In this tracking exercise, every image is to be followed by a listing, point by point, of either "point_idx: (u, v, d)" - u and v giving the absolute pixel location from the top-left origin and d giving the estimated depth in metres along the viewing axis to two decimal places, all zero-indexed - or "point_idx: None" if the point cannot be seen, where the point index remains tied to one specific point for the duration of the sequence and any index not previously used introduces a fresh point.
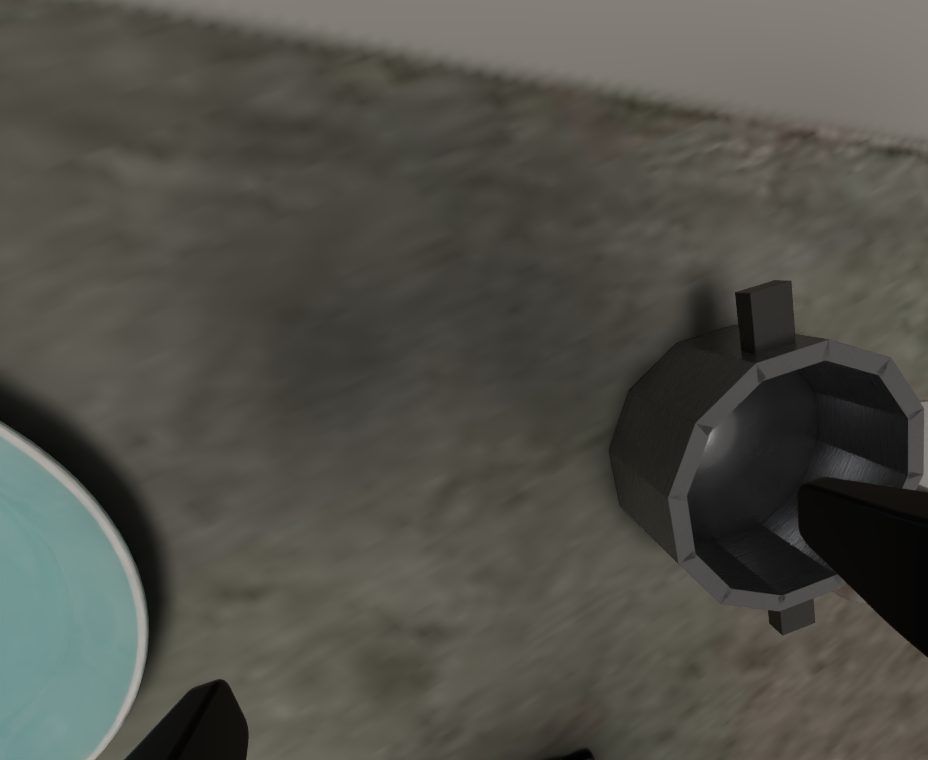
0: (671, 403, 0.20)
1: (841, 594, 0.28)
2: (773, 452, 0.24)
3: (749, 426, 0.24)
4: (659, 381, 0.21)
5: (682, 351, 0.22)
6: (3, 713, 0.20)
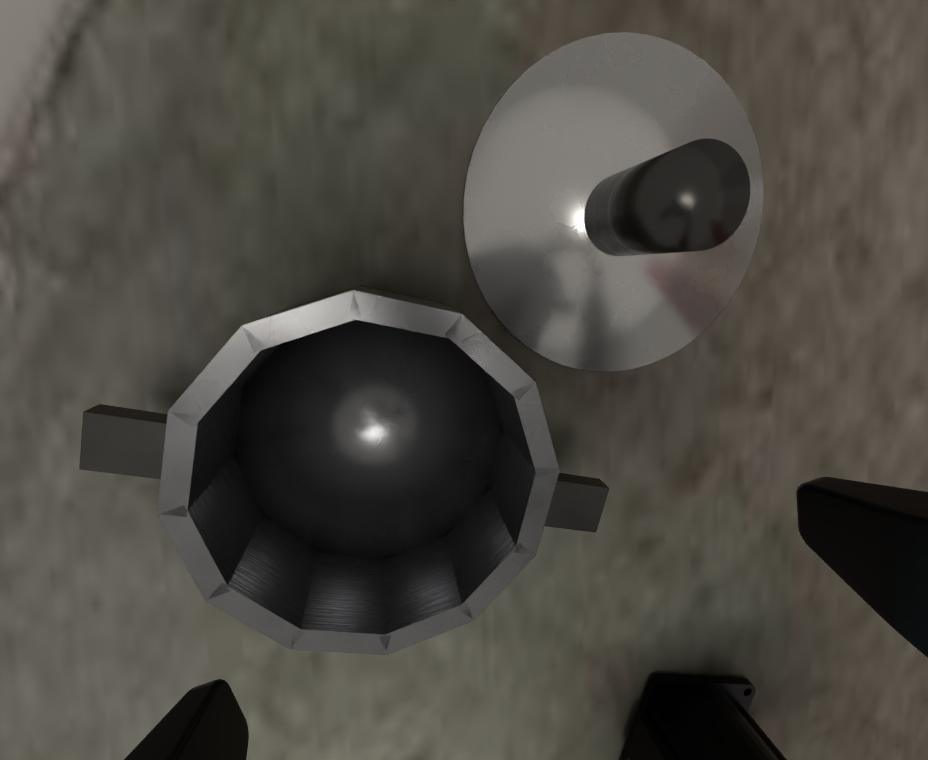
0: None
1: (684, 342, 0.20)
2: (416, 386, 0.18)
3: (362, 407, 0.18)
4: None
5: None
6: None
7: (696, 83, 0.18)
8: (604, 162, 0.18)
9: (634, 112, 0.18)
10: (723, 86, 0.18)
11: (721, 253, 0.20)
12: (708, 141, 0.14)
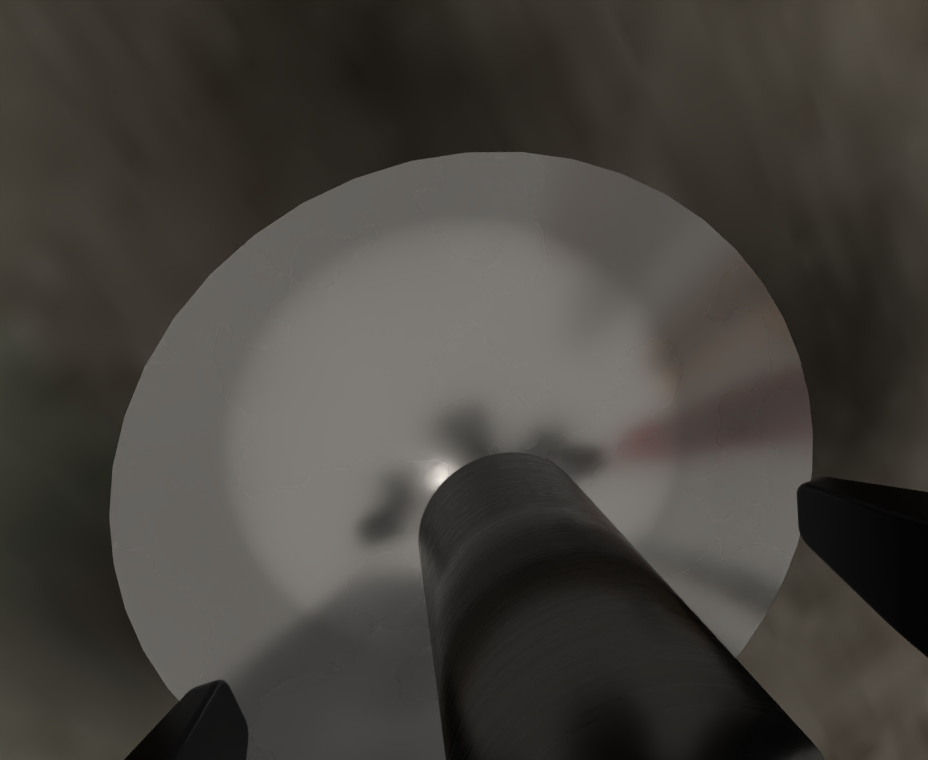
0: None
1: (743, 638, 0.10)
2: None
3: None
4: None
5: None
6: None
7: (526, 207, 0.07)
8: (412, 471, 0.08)
9: (419, 347, 0.07)
10: (592, 176, 0.07)
11: (746, 471, 0.09)
12: None
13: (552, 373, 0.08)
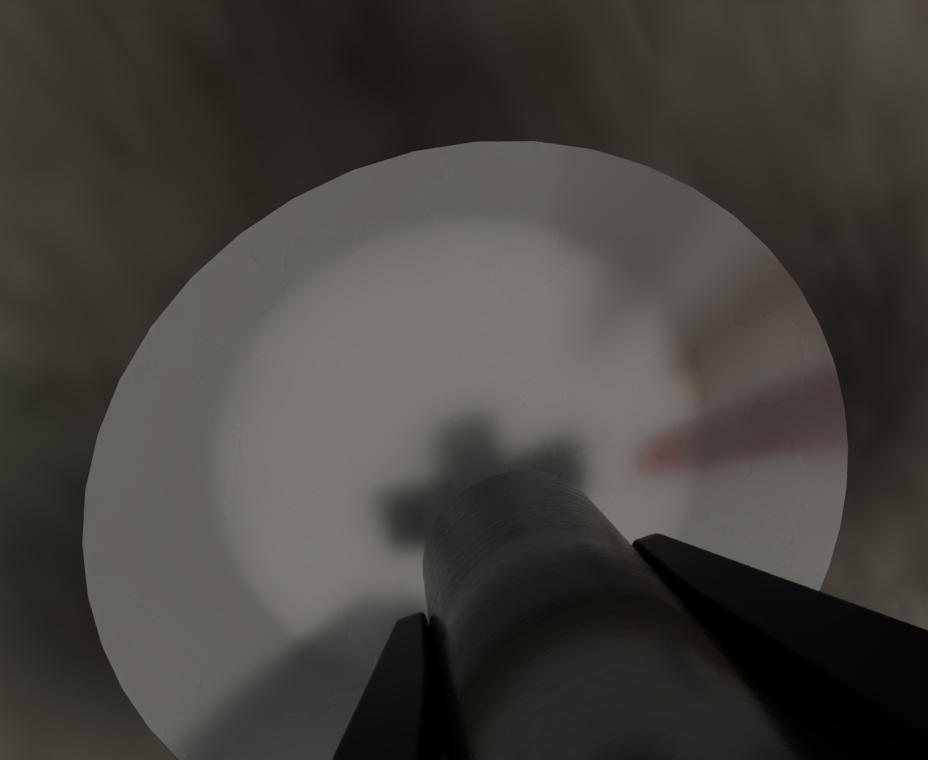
0: None
1: None
2: None
3: None
4: None
5: None
6: None
7: (541, 203, 0.07)
8: (417, 491, 0.07)
9: (423, 356, 0.07)
10: (614, 168, 0.07)
11: (776, 488, 0.08)
12: None
13: (568, 384, 0.07)
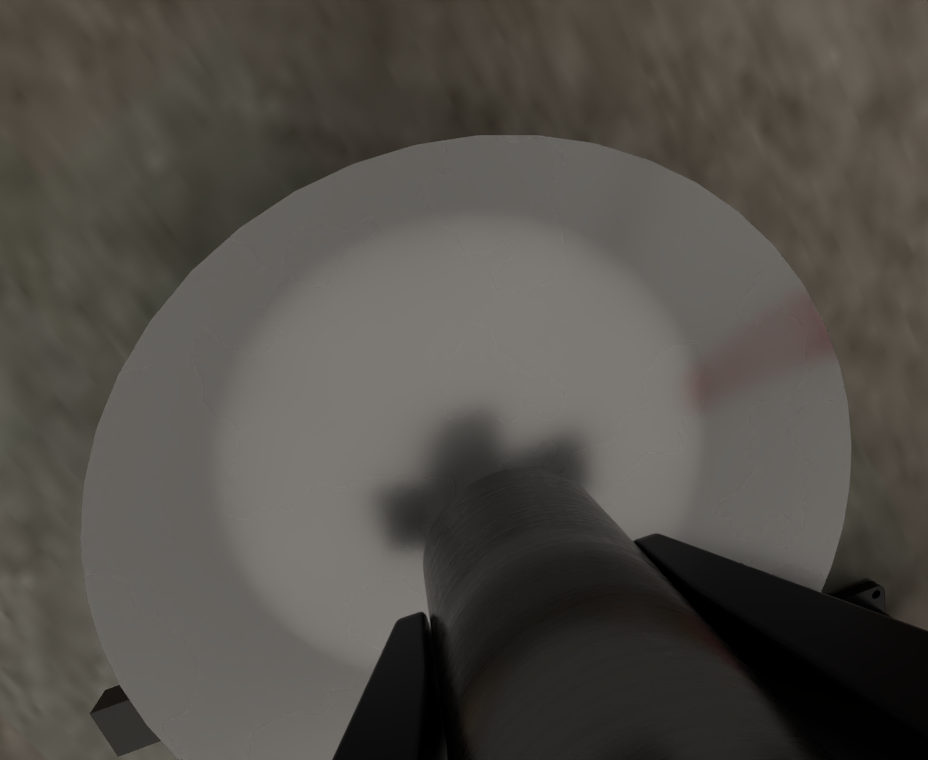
0: None
1: None
2: None
3: None
4: None
5: None
6: None
7: (543, 197, 0.07)
8: (417, 488, 0.07)
9: (424, 352, 0.07)
10: (616, 163, 0.07)
11: (779, 486, 0.08)
12: None
13: (571, 380, 0.07)
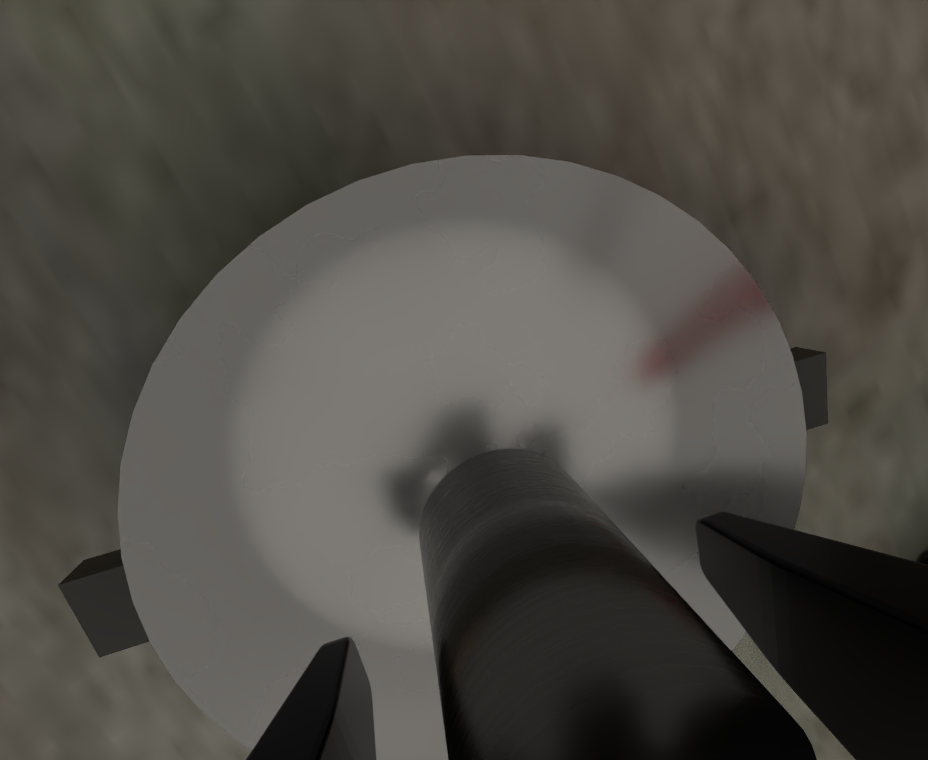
0: None
1: (739, 631, 0.10)
2: None
3: None
4: None
5: None
6: None
7: (524, 209, 0.07)
8: (414, 466, 0.08)
9: (420, 346, 0.08)
10: (589, 179, 0.07)
11: (741, 467, 0.09)
12: (583, 740, 0.03)
13: (550, 370, 0.08)
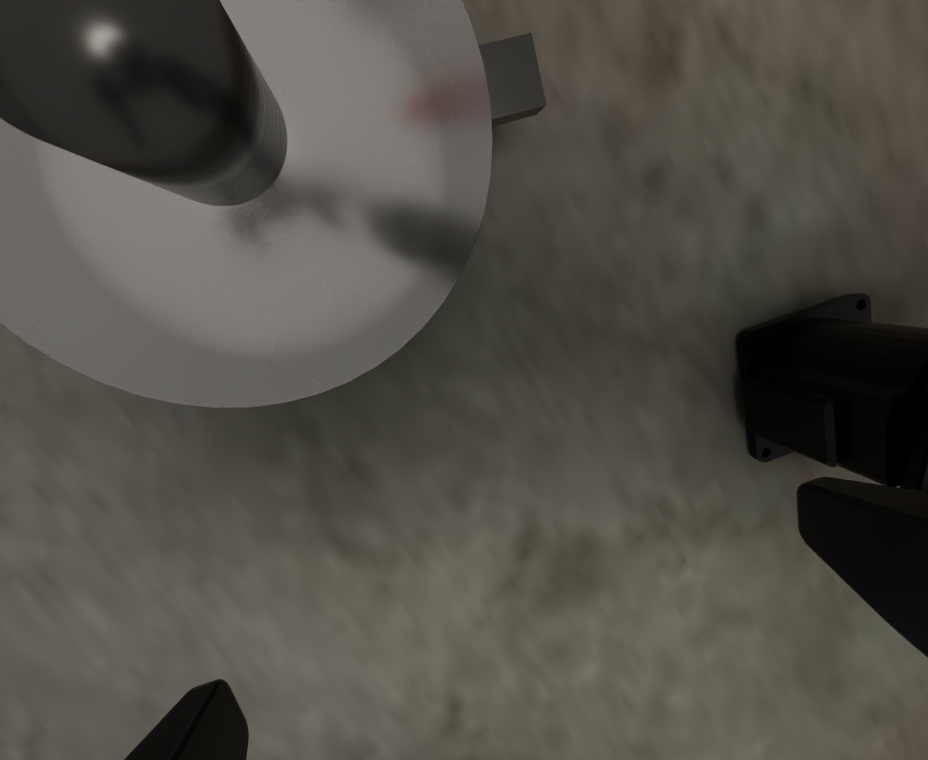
0: None
1: (458, 266, 0.12)
2: None
3: None
4: None
5: None
6: None
7: None
8: None
9: None
10: None
11: (427, 94, 0.11)
12: None
13: None
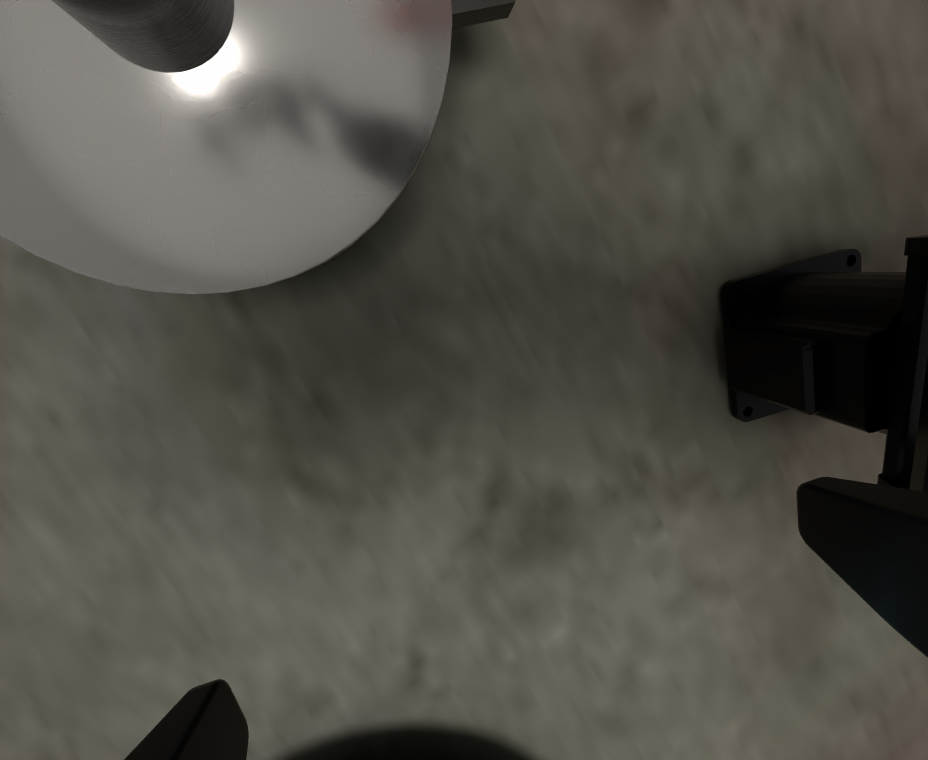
0: None
1: (413, 157, 0.12)
2: None
3: None
4: None
5: None
6: None
7: None
8: None
9: None
10: None
11: None
12: None
13: None
